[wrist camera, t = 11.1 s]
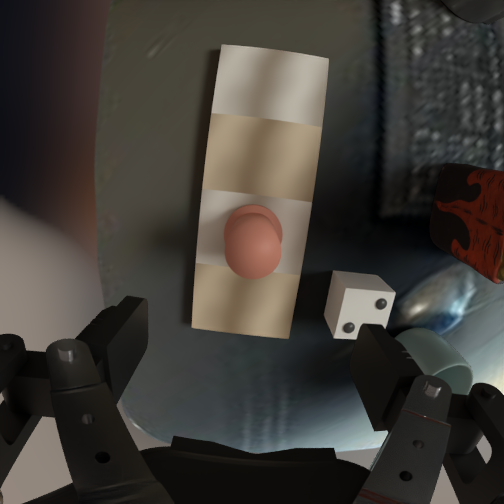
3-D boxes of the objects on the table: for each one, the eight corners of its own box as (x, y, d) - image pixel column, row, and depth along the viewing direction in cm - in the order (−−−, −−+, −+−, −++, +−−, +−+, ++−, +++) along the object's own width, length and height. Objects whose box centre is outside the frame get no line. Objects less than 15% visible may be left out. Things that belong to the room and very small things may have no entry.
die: (377, 274, 32) (396, 293, 27) (366, 317, 33) (382, 340, 28) (332, 270, 32) (346, 288, 27) (323, 314, 33) (334, 338, 28)
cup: (377, 379, 35) (405, 433, 25) (376, 327, 33) (411, 378, 23) (430, 362, 35) (467, 408, 25) (434, 310, 33) (479, 352, 23)
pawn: (285, 208, 29) (295, 220, 22) (277, 263, 30) (284, 290, 23) (227, 201, 29) (219, 211, 22) (222, 256, 30) (213, 282, 23)
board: (326, 62, 26) (328, 58, 25) (287, 333, 33) (288, 338, 32) (223, 49, 26) (221, 44, 25) (193, 322, 33) (191, 327, 32)
